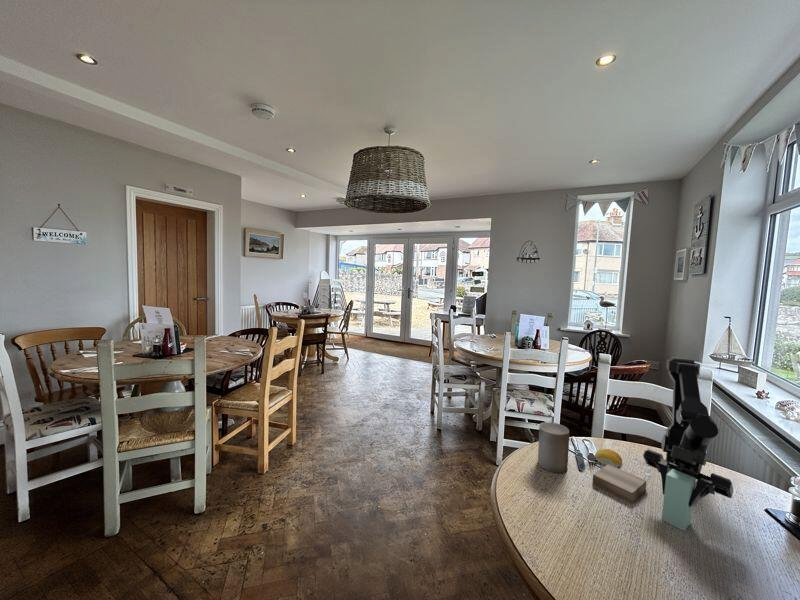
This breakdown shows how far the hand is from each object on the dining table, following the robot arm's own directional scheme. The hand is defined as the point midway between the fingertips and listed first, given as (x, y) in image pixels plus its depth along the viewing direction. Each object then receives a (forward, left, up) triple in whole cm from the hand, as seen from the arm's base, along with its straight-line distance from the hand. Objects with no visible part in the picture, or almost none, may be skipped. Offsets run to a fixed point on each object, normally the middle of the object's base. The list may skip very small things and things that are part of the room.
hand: (676, 500), depth 90 cm
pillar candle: (+8, -33, -7) cm, 35 cm away
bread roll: (-14, -27, -7) cm, 31 cm away
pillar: (-1, 0, -7) cm, 7 cm away
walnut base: (-2, -16, -7) cm, 18 cm away
